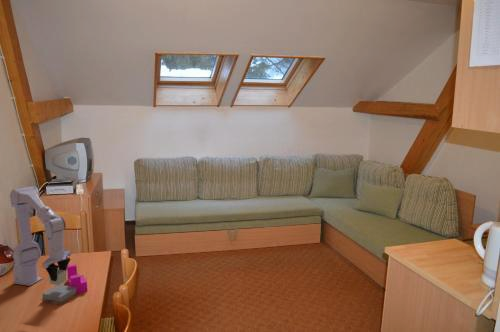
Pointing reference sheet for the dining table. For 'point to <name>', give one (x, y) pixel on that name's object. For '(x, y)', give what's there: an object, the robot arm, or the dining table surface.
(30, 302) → the dining table surface
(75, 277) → the toy block
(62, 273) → the sage cube
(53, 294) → the slate top slab
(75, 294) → the grey square slab
